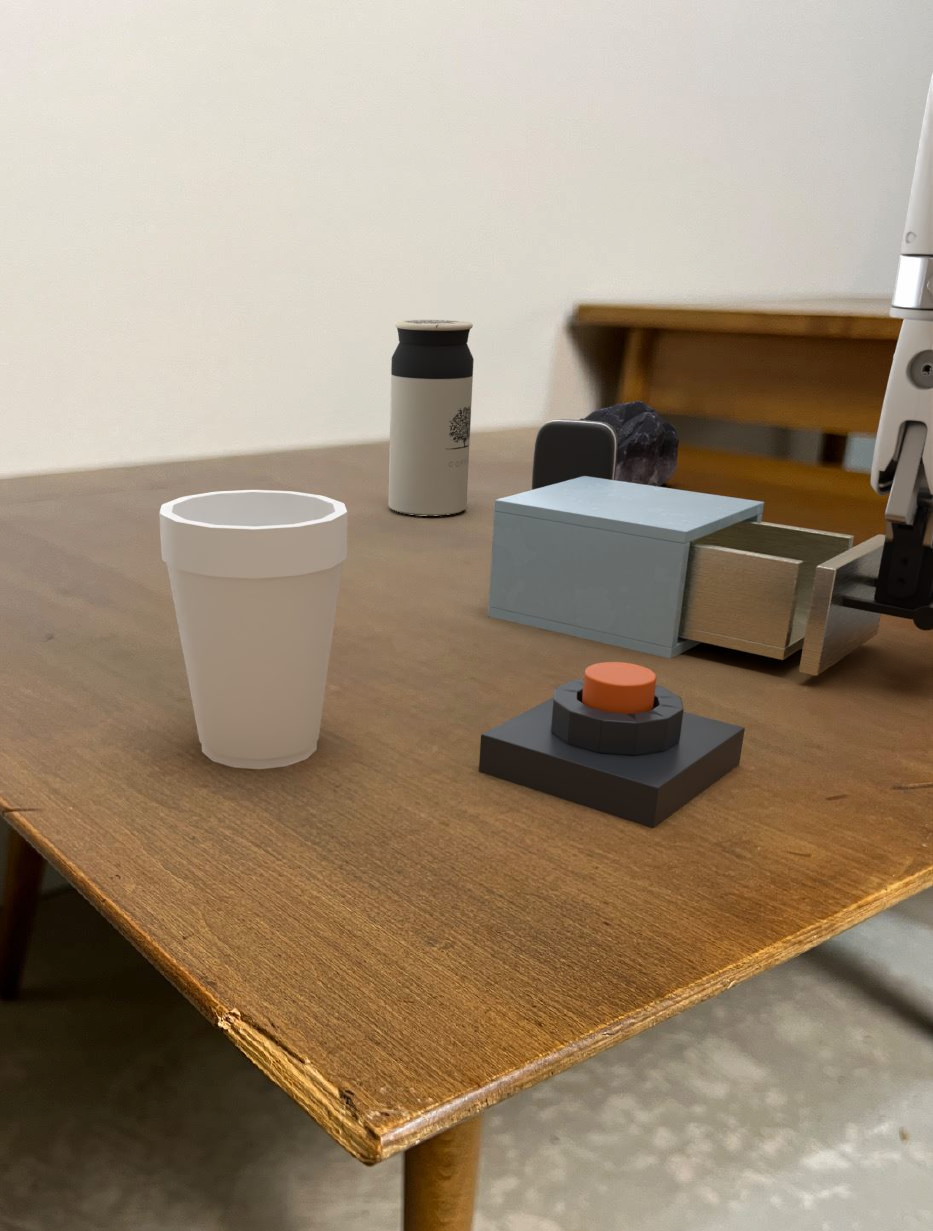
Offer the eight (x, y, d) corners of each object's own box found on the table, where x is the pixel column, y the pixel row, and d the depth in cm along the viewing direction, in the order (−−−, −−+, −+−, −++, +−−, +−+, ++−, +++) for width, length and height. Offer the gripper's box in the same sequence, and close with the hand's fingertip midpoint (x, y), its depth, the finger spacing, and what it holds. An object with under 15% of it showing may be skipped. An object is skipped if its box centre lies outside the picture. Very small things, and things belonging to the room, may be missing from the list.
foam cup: (136, 754, 64) (119, 511, 59) (244, 703, 71) (238, 483, 66) (277, 797, 59) (272, 538, 54) (378, 739, 66) (382, 504, 61)
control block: (739, 765, 64) (750, 695, 62) (653, 829, 57) (662, 752, 55) (575, 719, 70) (581, 654, 68) (478, 772, 63) (482, 701, 61)
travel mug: (372, 508, 123) (375, 320, 115) (427, 498, 127) (433, 318, 120) (426, 521, 117) (433, 325, 110) (482, 510, 122) (492, 322, 115)
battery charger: (610, 551, 107) (624, 419, 102) (603, 560, 104) (617, 425, 99) (533, 543, 109) (543, 414, 105) (524, 553, 106) (534, 420, 101)
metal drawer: (966, 652, 79) (989, 550, 76) (913, 698, 71) (937, 586, 68) (694, 598, 90) (706, 507, 87) (621, 632, 82) (632, 533, 79)
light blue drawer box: (747, 618, 89) (764, 501, 85) (670, 659, 80) (686, 531, 76) (574, 582, 97) (583, 475, 94) (487, 616, 88) (494, 499, 85)
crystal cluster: (547, 476, 143) (547, 391, 139) (661, 468, 143) (665, 382, 138) (560, 508, 132) (560, 416, 127) (685, 500, 131) (690, 407, 126)
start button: (665, 703, 62) (668, 671, 61) (632, 723, 59) (635, 690, 59) (603, 687, 64) (606, 656, 63) (568, 706, 61) (571, 673, 61)
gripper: (1003, 298, 60) (930, 645, 68) (1067, 289, 71) (998, 590, 78) (852, 293, 65) (799, 620, 72) (934, 285, 75) (880, 571, 83)
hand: (903, 604), depth 75 cm, fingers closed
